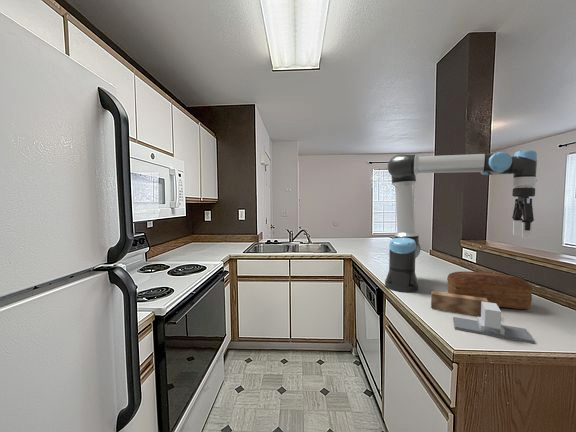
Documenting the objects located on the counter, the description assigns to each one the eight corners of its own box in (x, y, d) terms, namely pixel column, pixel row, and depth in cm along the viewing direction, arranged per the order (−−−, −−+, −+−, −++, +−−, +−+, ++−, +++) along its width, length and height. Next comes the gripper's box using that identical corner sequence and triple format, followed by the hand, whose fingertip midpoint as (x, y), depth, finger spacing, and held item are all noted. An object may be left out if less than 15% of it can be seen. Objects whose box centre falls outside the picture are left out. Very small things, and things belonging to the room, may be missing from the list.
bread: (443, 294, 127) (444, 267, 126) (519, 301, 118) (520, 272, 118) (451, 304, 113) (452, 274, 113) (537, 313, 105) (538, 280, 104)
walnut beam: (431, 309, 109) (431, 293, 109) (431, 305, 113) (431, 291, 112) (487, 318, 101) (488, 301, 101) (485, 314, 104) (486, 298, 104)
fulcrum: (454, 329, 91) (455, 305, 91) (453, 319, 99) (453, 297, 99) (534, 343, 82) (535, 317, 82) (525, 331, 90) (526, 307, 90)
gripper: (546, 185, 108) (543, 240, 109) (525, 188, 131) (523, 234, 132) (521, 186, 112) (518, 239, 113) (505, 188, 134) (503, 233, 135)
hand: (521, 236), depth 122 cm, fingers open, 13 cm apart
